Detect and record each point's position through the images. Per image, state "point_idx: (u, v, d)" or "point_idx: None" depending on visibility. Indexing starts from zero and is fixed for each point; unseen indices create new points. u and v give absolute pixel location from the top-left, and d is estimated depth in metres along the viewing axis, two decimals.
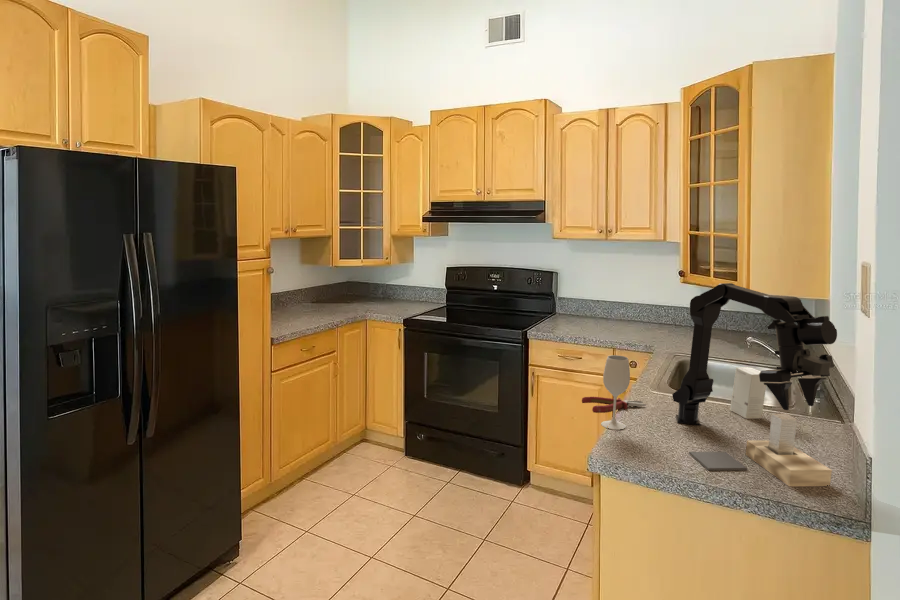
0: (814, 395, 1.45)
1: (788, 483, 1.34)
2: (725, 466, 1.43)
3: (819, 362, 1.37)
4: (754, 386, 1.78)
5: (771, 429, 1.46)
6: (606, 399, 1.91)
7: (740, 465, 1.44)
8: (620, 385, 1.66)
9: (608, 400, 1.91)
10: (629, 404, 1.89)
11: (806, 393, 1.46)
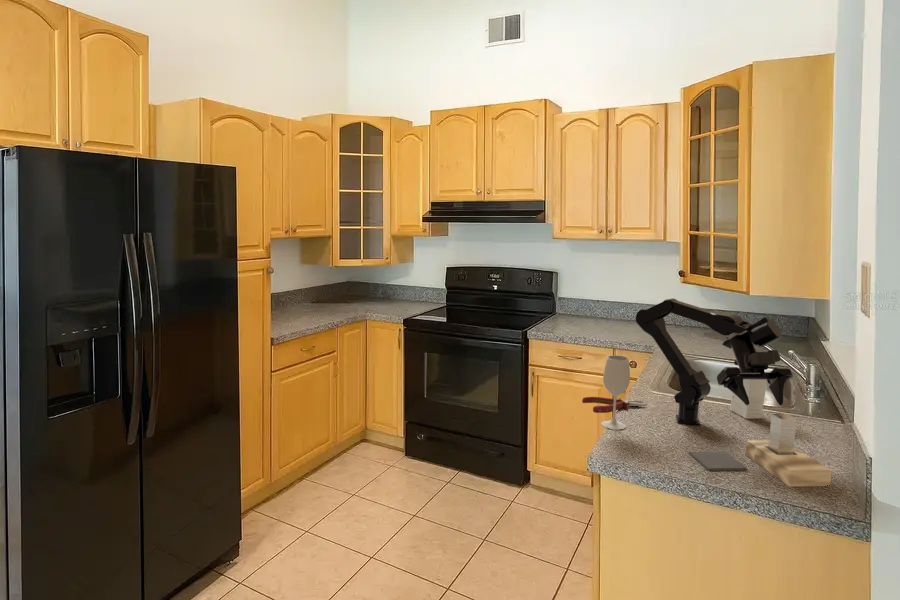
0: (781, 393, 1.53)
1: (788, 483, 1.34)
2: (725, 466, 1.43)
3: None
4: (754, 386, 1.78)
5: (771, 429, 1.46)
6: (607, 399, 1.91)
7: (740, 465, 1.44)
8: (620, 385, 1.66)
9: (609, 400, 1.91)
10: (630, 404, 1.89)
11: (775, 395, 1.55)
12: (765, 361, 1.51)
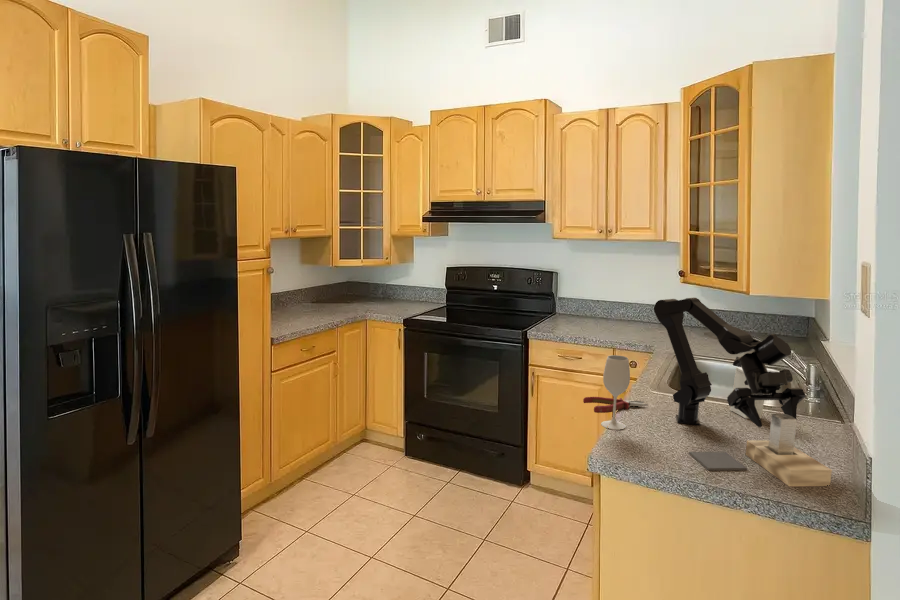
0: (794, 415, 1.48)
1: (788, 483, 1.34)
2: (725, 466, 1.43)
3: None
4: None
5: (771, 429, 1.46)
6: (608, 399, 1.91)
7: (740, 465, 1.44)
8: (620, 385, 1.66)
9: (610, 400, 1.91)
10: (631, 404, 1.89)
11: None
12: (777, 382, 1.46)
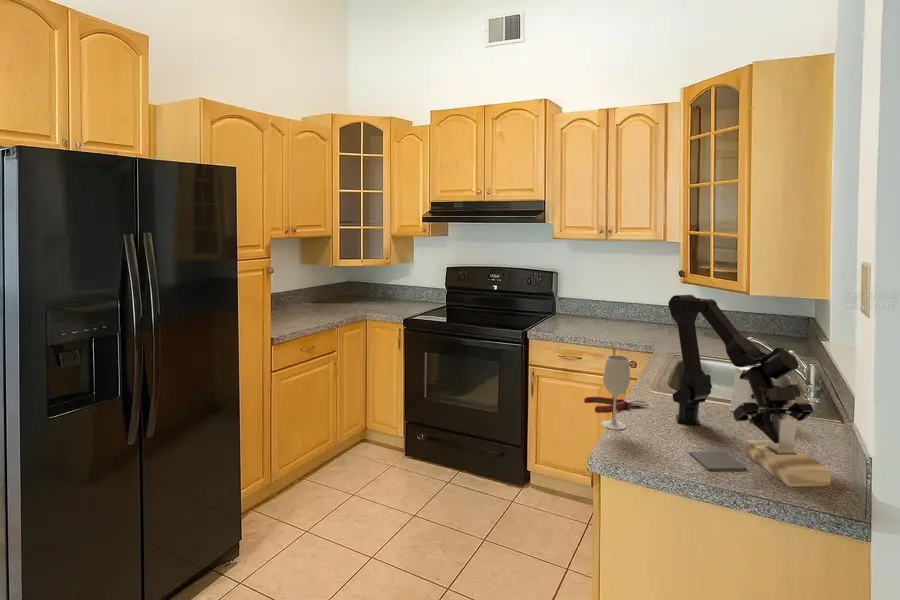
0: None
1: (788, 483, 1.34)
2: (725, 466, 1.43)
3: None
4: None
5: None
6: (608, 399, 1.91)
7: (740, 465, 1.44)
8: (620, 385, 1.66)
9: (610, 400, 1.91)
10: (632, 404, 1.89)
11: None
12: (785, 397, 1.43)
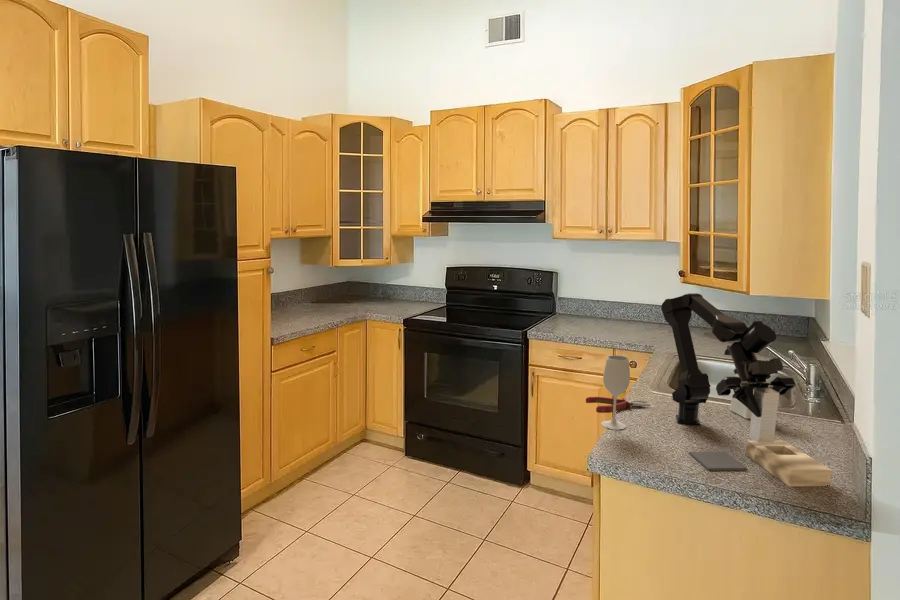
0: None
1: (788, 483, 1.34)
2: (725, 466, 1.43)
3: (761, 361, 1.43)
4: None
5: None
6: (610, 399, 1.91)
7: (740, 465, 1.44)
8: (620, 385, 1.66)
9: (612, 400, 1.91)
10: (633, 404, 1.89)
11: None
12: (767, 370, 1.42)
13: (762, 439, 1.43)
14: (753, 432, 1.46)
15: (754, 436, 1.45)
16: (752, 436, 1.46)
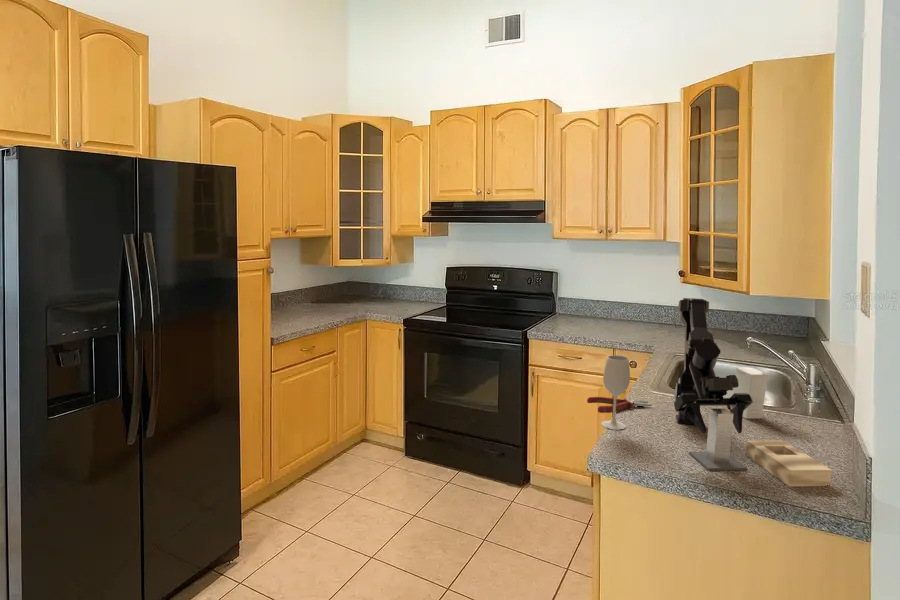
0: (740, 421, 1.46)
1: (788, 483, 1.34)
2: (725, 466, 1.43)
3: (716, 378, 1.45)
4: (754, 386, 1.78)
5: (709, 424, 1.47)
6: (612, 399, 1.91)
7: (740, 465, 1.44)
8: (620, 385, 1.66)
9: None
10: (635, 404, 1.89)
11: (734, 422, 1.47)
12: (722, 387, 1.44)
13: (717, 459, 1.45)
14: (709, 452, 1.47)
15: (710, 456, 1.47)
16: (708, 456, 1.48)
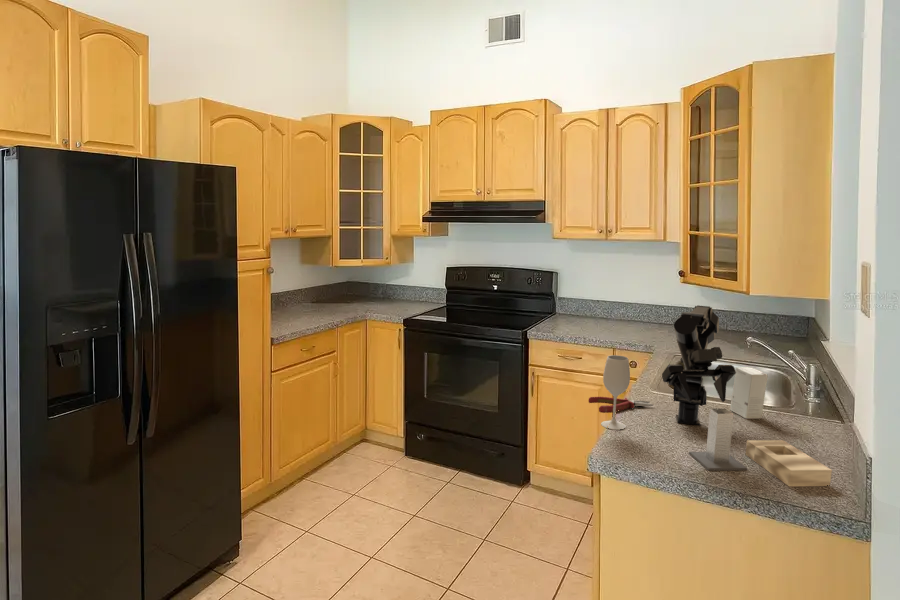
0: (723, 390, 1.54)
1: (788, 483, 1.34)
2: (725, 466, 1.43)
3: None
4: (754, 386, 1.78)
5: (709, 424, 1.47)
6: (613, 399, 1.91)
7: (740, 465, 1.44)
8: (620, 385, 1.66)
9: None
10: (636, 404, 1.89)
11: (719, 392, 1.56)
12: (707, 358, 1.52)
13: (717, 459, 1.45)
14: (709, 452, 1.47)
15: (710, 456, 1.47)
16: (708, 456, 1.48)
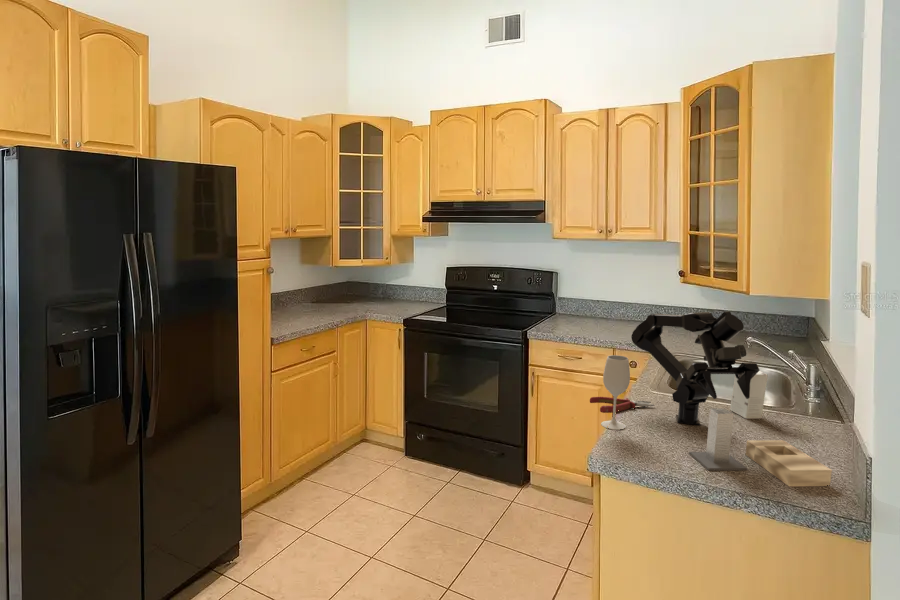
0: (747, 387, 1.57)
1: (788, 483, 1.34)
2: (725, 466, 1.43)
3: None
4: (754, 386, 1.78)
5: (709, 424, 1.47)
6: None
7: (740, 465, 1.44)
8: (620, 385, 1.66)
9: (616, 400, 1.91)
10: (637, 404, 1.88)
11: (743, 389, 1.59)
12: (731, 356, 1.55)
13: (717, 459, 1.45)
14: (709, 452, 1.47)
15: (710, 456, 1.47)
16: (708, 456, 1.48)
